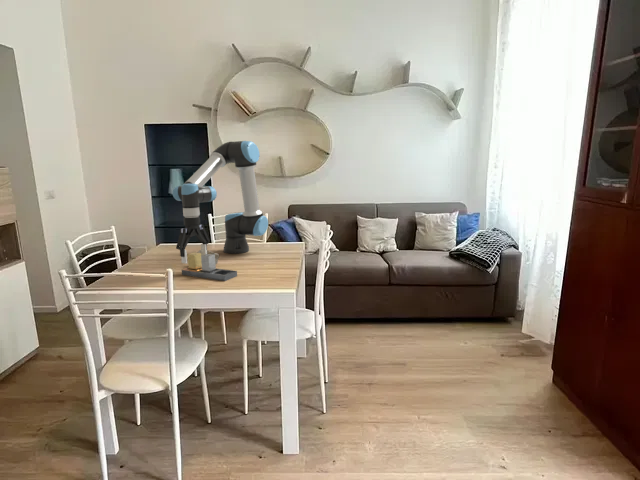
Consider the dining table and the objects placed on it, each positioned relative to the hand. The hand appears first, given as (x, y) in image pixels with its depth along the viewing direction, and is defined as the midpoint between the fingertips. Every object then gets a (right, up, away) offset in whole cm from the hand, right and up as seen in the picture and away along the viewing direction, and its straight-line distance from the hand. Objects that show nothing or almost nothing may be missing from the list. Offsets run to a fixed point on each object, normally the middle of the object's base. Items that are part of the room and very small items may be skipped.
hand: (194, 260), depth 203 cm
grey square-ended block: (+8, -7, -2) cm, 11 cm away
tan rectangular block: (0, -7, +1) cm, 7 cm away
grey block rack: (+8, -7, -2) cm, 11 cm away
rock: (+1, -4, +16) cm, 17 cm away
